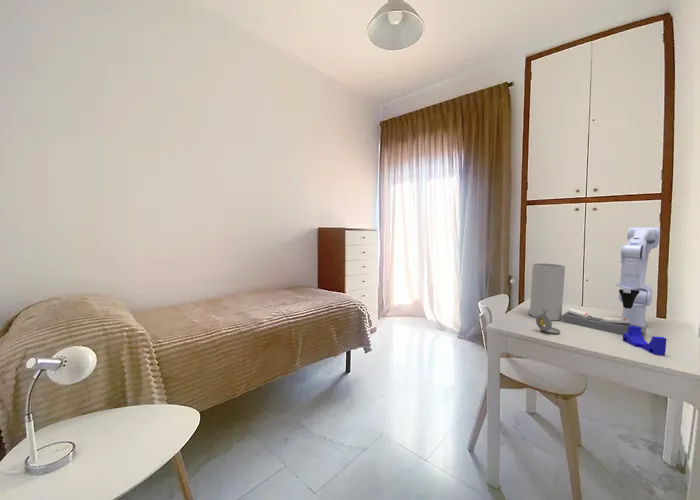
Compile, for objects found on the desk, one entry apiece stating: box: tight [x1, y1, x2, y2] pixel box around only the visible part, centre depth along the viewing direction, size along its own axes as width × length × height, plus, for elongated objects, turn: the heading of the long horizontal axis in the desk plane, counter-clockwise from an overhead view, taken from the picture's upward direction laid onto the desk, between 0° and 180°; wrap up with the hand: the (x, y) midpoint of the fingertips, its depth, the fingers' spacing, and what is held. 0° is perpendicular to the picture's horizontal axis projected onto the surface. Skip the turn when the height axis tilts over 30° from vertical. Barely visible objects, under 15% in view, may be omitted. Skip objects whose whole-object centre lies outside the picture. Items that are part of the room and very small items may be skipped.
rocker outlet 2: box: [604, 316, 629, 324], centre depth 117 cm, size 4×7×2 cm, turn 40°
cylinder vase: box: [529, 262, 566, 322], centre depth 134 cm, size 12×12×25 cm
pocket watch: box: [535, 308, 561, 335], centre depth 115 cm, size 8×8×10 cm
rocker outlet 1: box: [567, 307, 591, 318], centre depth 126 cm, size 4×7×2 cm, turn 40°
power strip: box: [561, 311, 647, 339], centre depth 121 cm, size 8×26×4 cm, turn 40°
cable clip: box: [621, 326, 668, 356], centre depth 101 cm, size 12×4×6 cm, turn 169°
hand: (627, 307), depth 114 cm, fingers closed
